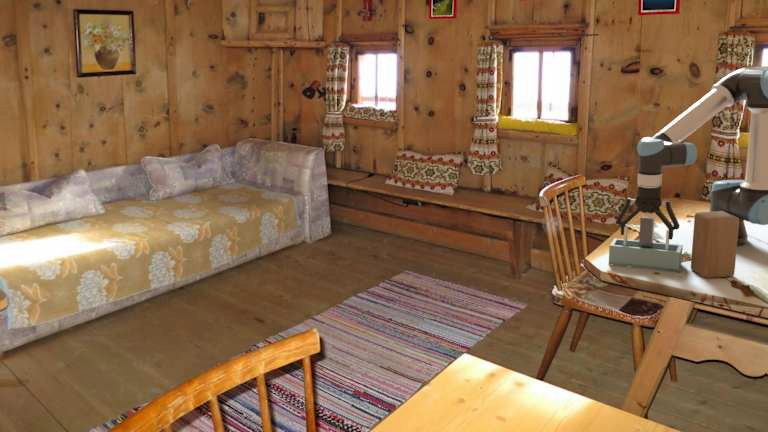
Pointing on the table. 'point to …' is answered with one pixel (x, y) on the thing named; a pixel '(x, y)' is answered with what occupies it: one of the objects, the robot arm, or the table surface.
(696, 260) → the wooden block
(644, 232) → the brushed steel bar
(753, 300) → the table surface
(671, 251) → the grey-green open box
